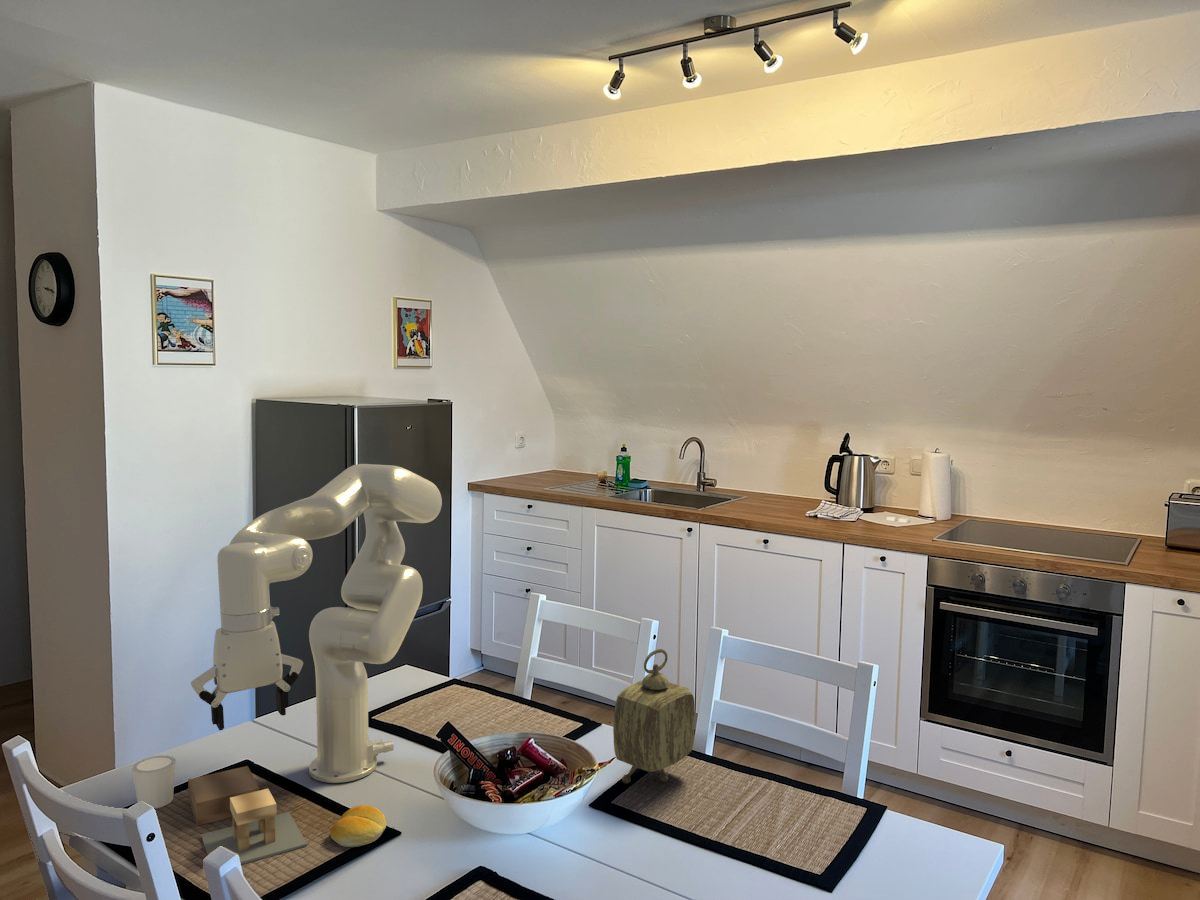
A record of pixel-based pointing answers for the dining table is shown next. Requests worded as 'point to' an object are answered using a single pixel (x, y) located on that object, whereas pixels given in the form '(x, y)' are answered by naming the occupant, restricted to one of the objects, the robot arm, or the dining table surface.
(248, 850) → the mat
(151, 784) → the cream cup
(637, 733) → the tabletop clock
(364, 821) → the bread roll
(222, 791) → the step
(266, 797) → the stool
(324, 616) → the robot arm
